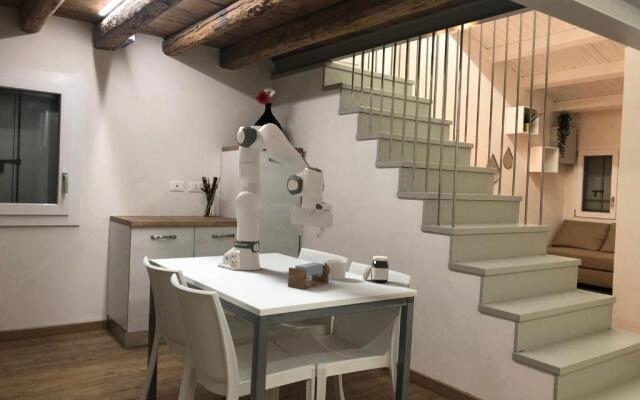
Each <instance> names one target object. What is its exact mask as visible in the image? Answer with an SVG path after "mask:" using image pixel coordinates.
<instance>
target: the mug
mask: <svg viewBox="0 0 640 400" xmlns="http://www.w3.org/2000/svg"><path fill="white" fill-rule="evenodd" d="M323 262H324V263H323V265H328V266H329V281H330V280H331V281H332V280H334V281H341V279H343V280H345V279H346V271H347V270H346V269H347V261H346V260H342V259H330V258H329V259H328V258H326V259H324V260H323Z"/></svg>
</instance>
